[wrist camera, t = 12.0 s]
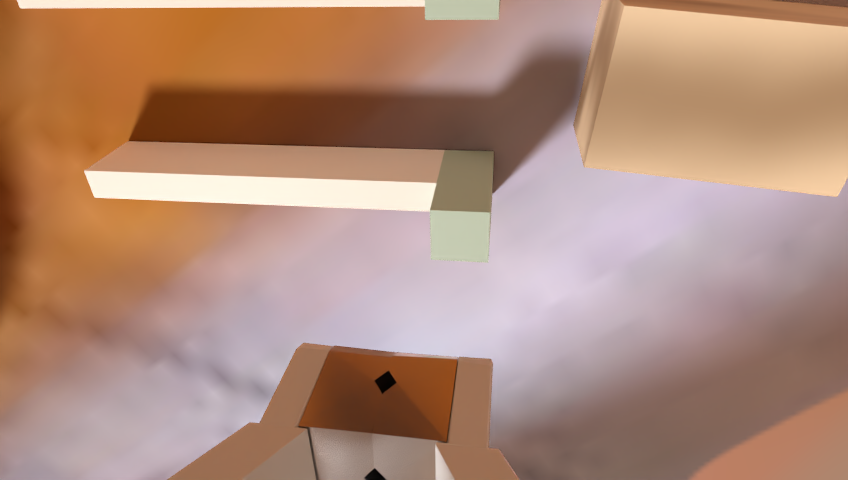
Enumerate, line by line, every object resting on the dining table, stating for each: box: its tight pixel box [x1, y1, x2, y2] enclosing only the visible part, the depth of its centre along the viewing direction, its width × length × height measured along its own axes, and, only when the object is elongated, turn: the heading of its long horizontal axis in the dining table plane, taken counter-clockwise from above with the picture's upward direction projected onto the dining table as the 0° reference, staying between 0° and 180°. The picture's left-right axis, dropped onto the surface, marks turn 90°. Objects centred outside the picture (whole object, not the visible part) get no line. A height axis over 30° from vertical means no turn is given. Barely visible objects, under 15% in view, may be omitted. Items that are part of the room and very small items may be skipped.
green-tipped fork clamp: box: [17, 0, 500, 263], centre depth 20 cm, size 10×16×5 cm, turn 92°
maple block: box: [573, 0, 848, 197], centre depth 18 cm, size 5×8×4 cm, turn 86°
